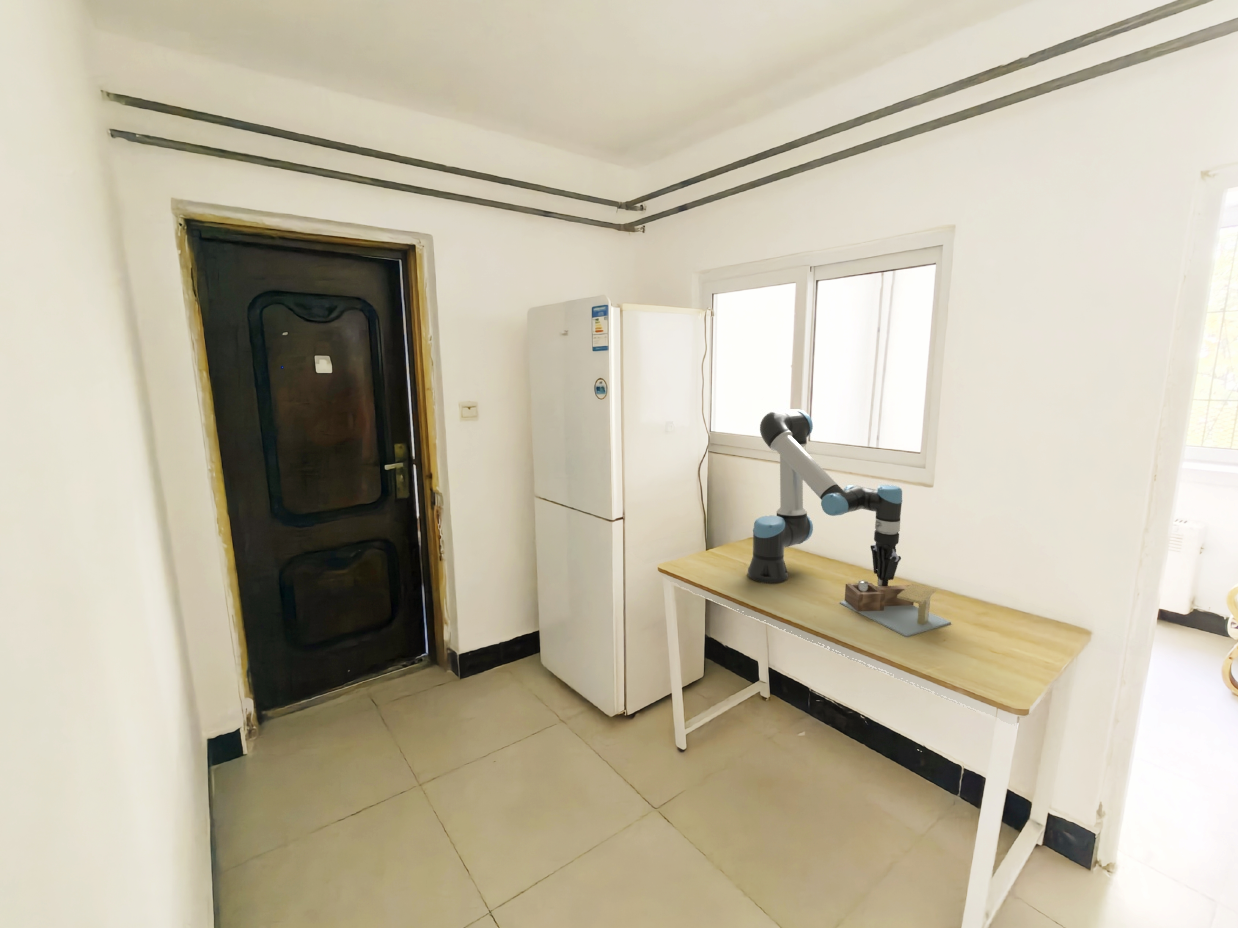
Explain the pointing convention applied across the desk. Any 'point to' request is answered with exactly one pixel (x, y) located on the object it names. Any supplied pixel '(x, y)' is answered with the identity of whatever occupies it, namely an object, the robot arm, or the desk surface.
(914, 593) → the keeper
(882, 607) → the link
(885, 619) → the board
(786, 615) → the desk surface
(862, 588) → the cylinder
